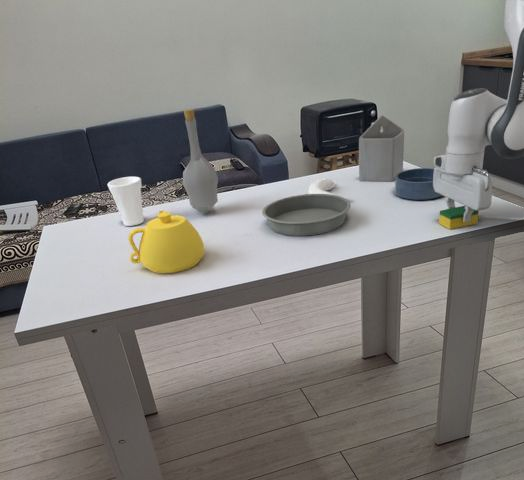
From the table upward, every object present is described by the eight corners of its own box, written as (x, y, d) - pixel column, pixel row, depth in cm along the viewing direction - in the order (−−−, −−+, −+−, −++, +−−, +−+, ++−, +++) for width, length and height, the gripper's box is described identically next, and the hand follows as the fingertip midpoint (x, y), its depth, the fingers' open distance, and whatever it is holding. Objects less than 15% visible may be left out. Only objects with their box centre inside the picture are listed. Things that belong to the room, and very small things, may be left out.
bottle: (229, 212, 166) (214, 108, 150) (196, 222, 162) (177, 115, 146) (214, 204, 174) (199, 105, 158) (182, 213, 170) (163, 111, 154)
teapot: (211, 267, 132) (203, 217, 125) (134, 283, 129) (121, 232, 122) (198, 240, 148) (190, 195, 141) (130, 253, 145) (118, 207, 138)
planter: (369, 186, 174) (370, 122, 163) (358, 180, 180) (358, 119, 170) (414, 177, 177) (417, 114, 167) (401, 172, 184) (404, 111, 173)
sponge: (465, 217, 142) (467, 205, 140) (477, 223, 138) (478, 210, 136) (438, 223, 141) (439, 210, 139) (449, 229, 137) (450, 216, 135)
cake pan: (345, 204, 161) (345, 189, 159) (356, 233, 141) (356, 217, 138) (264, 212, 163) (262, 197, 160) (263, 242, 142) (261, 226, 140)
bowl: (450, 186, 165) (452, 168, 162) (442, 202, 154) (444, 183, 151) (401, 185, 171) (401, 167, 169) (389, 200, 160) (390, 182, 157)
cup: (141, 215, 173) (132, 174, 166) (155, 222, 165) (146, 179, 158) (113, 224, 168) (102, 182, 161) (125, 231, 161) (115, 188, 154)
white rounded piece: (319, 187, 179) (362, 187, 173) (301, 208, 165) (347, 210, 159) (318, 172, 176) (362, 172, 171) (300, 193, 162) (347, 194, 157)
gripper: (502, 169, 123) (494, 227, 131) (451, 152, 140) (447, 204, 147) (478, 174, 122) (471, 232, 129) (430, 156, 139) (426, 208, 146)
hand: (458, 217), depth 139 cm, fingers closed on sponge, 5 cm apart
